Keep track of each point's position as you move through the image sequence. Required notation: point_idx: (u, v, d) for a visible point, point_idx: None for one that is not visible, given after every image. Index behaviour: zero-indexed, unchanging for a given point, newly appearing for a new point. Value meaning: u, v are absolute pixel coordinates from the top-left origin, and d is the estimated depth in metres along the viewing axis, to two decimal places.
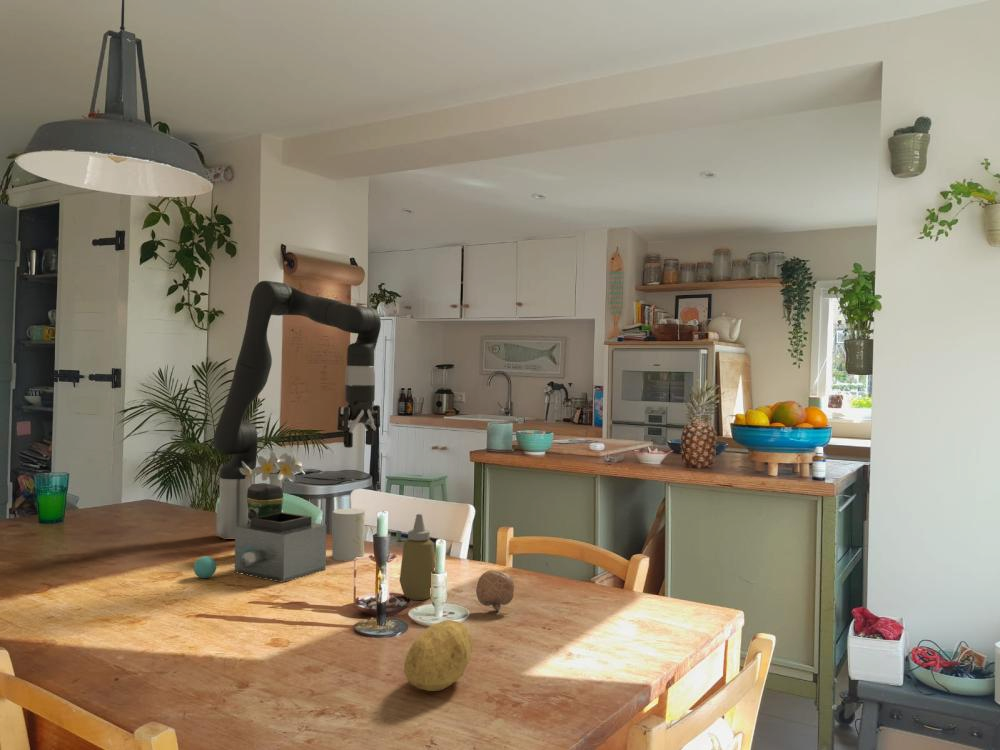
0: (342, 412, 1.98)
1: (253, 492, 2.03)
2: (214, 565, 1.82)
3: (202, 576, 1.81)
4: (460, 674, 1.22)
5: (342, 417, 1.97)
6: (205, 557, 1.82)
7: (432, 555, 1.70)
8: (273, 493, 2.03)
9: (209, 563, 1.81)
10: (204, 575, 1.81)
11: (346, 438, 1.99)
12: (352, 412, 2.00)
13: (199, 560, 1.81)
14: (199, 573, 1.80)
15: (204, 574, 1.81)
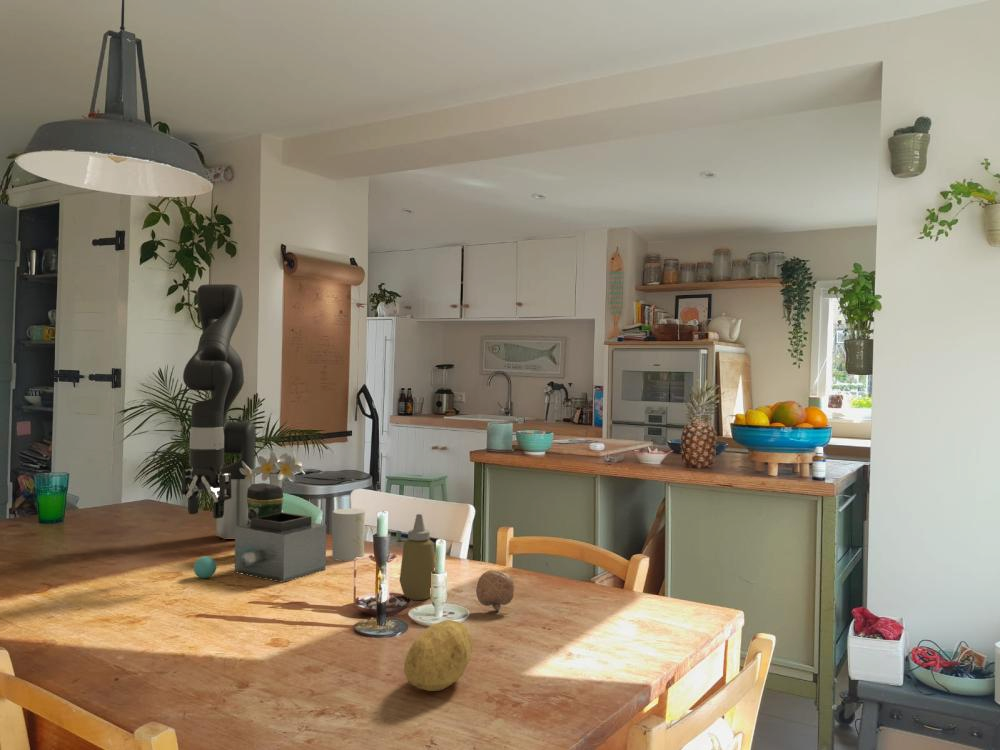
0: (227, 479, 1.79)
1: (253, 492, 2.03)
2: (214, 565, 1.82)
3: (202, 576, 1.81)
4: (460, 674, 1.22)
5: (227, 485, 1.79)
6: (205, 557, 1.82)
7: (432, 555, 1.70)
8: (273, 493, 2.03)
9: (209, 563, 1.81)
10: (204, 575, 1.81)
11: (222, 507, 1.80)
12: None
13: (199, 560, 1.81)
14: (199, 573, 1.80)
15: (204, 574, 1.81)
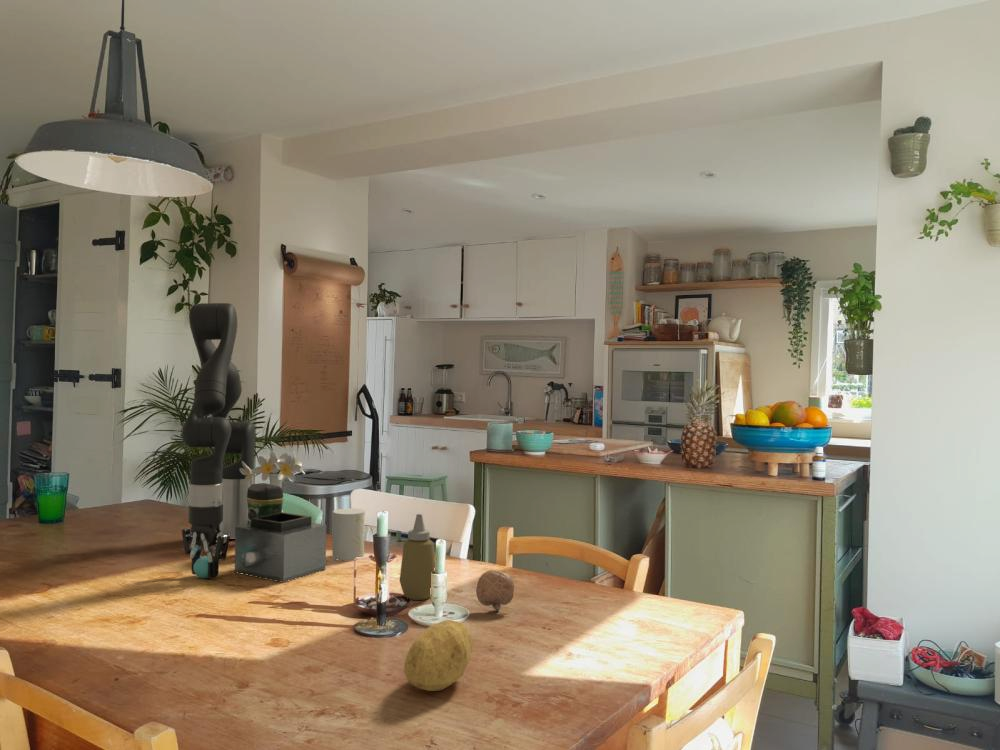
0: (225, 541, 1.80)
1: (253, 492, 2.03)
2: None
3: (202, 576, 1.81)
4: (460, 674, 1.22)
5: (224, 546, 1.80)
6: (205, 557, 1.82)
7: (432, 555, 1.70)
8: (273, 493, 2.03)
9: None
10: (204, 575, 1.81)
11: (216, 567, 1.81)
12: None
13: (199, 560, 1.81)
14: (199, 573, 1.80)
15: (204, 574, 1.81)
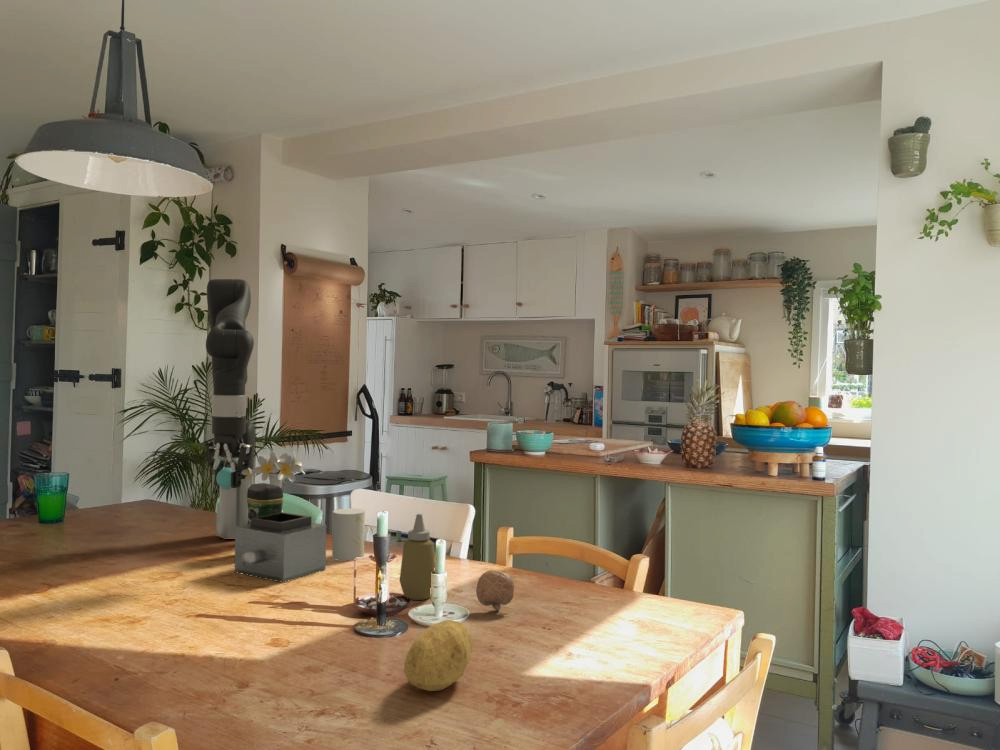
0: (248, 451, 1.81)
1: (253, 492, 2.03)
2: None
3: (225, 486, 1.83)
4: (460, 674, 1.22)
5: (247, 456, 1.82)
6: (228, 468, 1.84)
7: (432, 555, 1.70)
8: (273, 493, 2.03)
9: None
10: (227, 485, 1.83)
11: (239, 477, 1.83)
12: None
13: (222, 470, 1.83)
14: (222, 483, 1.82)
15: (227, 484, 1.83)
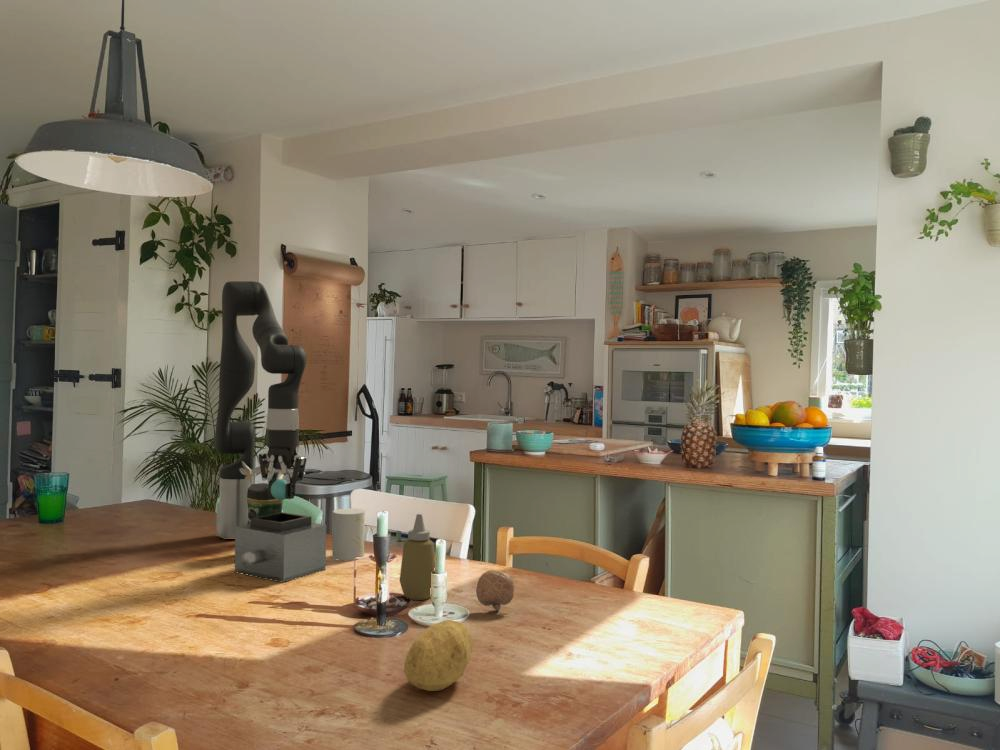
0: (302, 463, 1.87)
1: (253, 492, 2.03)
2: None
3: (279, 497, 1.88)
4: (460, 674, 1.22)
5: (301, 468, 1.87)
6: (282, 479, 1.89)
7: (432, 555, 1.70)
8: None
9: None
10: (281, 497, 1.88)
11: (293, 489, 1.88)
12: None
13: (276, 482, 1.88)
14: (277, 494, 1.87)
15: (281, 495, 1.88)
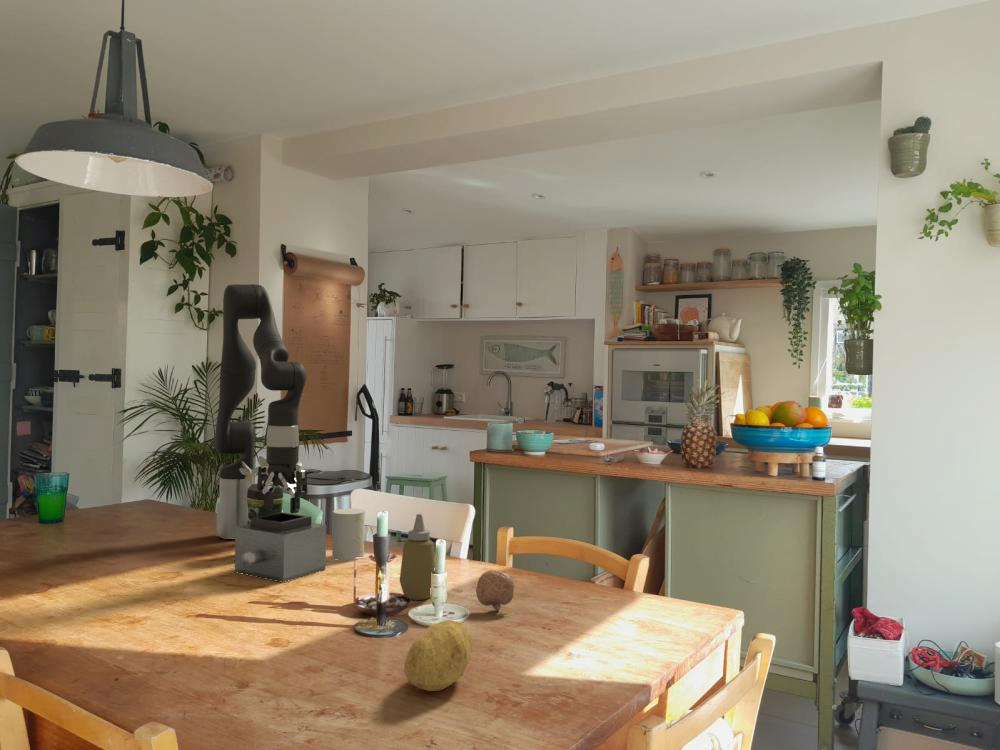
0: (303, 476, 1.86)
1: (253, 492, 2.03)
2: None
3: None
4: (460, 674, 1.22)
5: (304, 481, 1.87)
6: None
7: (432, 555, 1.70)
8: (273, 493, 2.03)
9: None
10: None
11: (298, 503, 1.87)
12: None
13: None
14: None
15: None
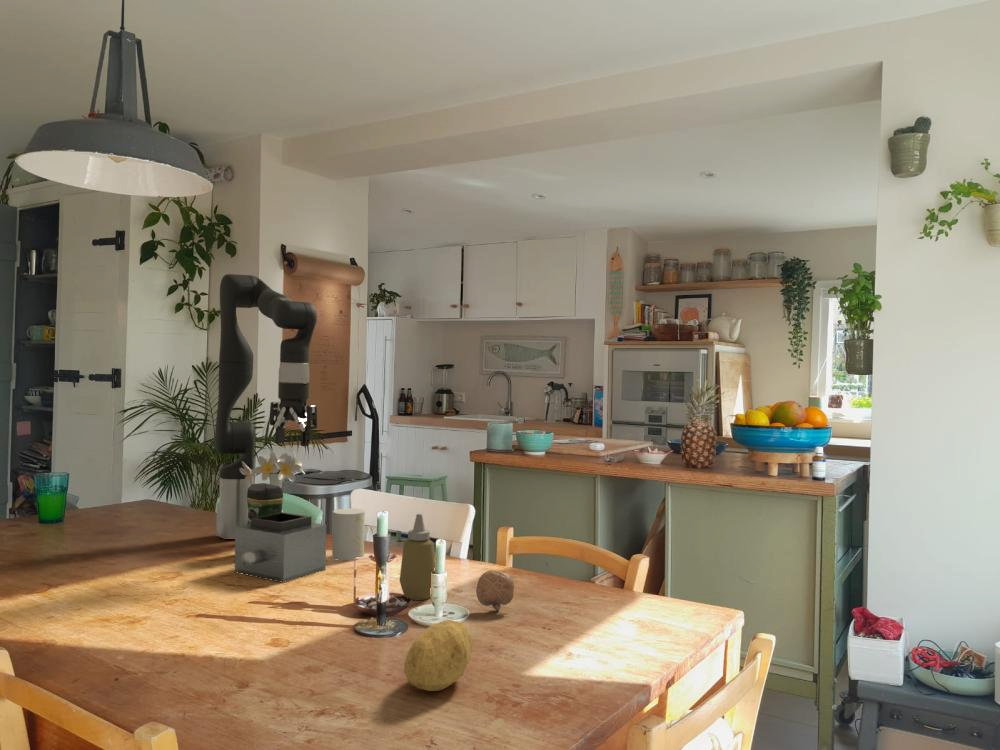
0: (313, 410, 1.95)
1: (253, 492, 2.03)
2: None
3: None
4: (460, 674, 1.22)
5: (314, 415, 1.95)
6: None
7: (432, 555, 1.70)
8: (273, 493, 2.03)
9: None
10: None
11: (308, 437, 1.96)
12: None
13: None
14: None
15: None
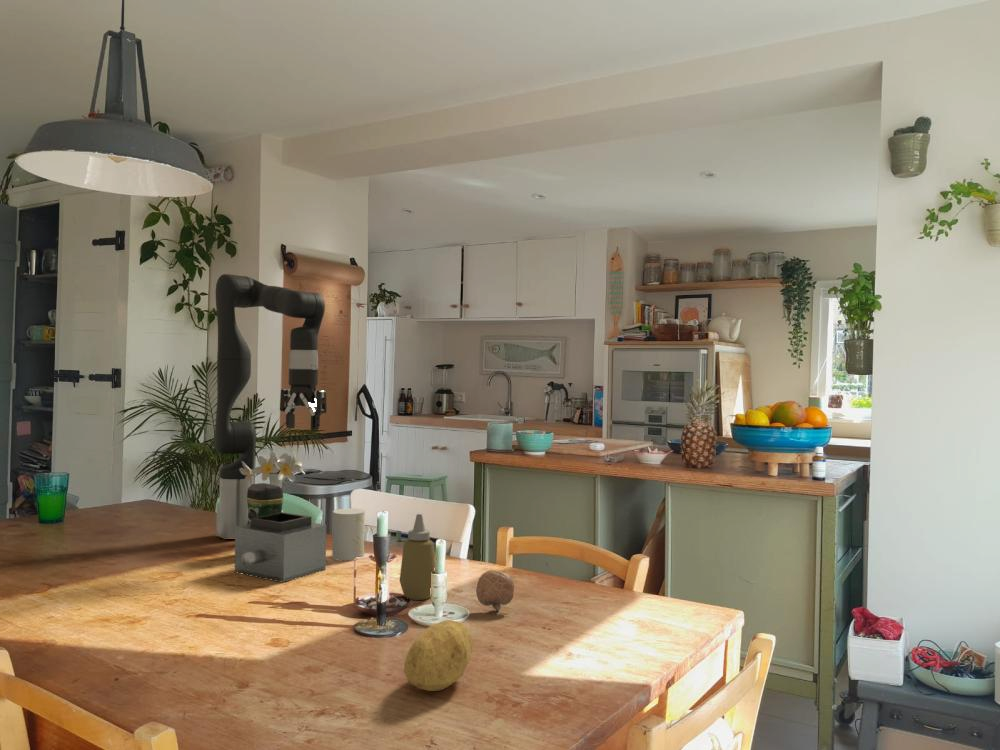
0: (323, 395, 2.03)
1: (253, 492, 2.03)
2: None
3: None
4: (460, 674, 1.22)
5: (323, 400, 2.03)
6: None
7: (432, 555, 1.70)
8: (273, 493, 2.03)
9: None
10: None
11: (318, 421, 2.04)
12: None
13: None
14: None
15: None
